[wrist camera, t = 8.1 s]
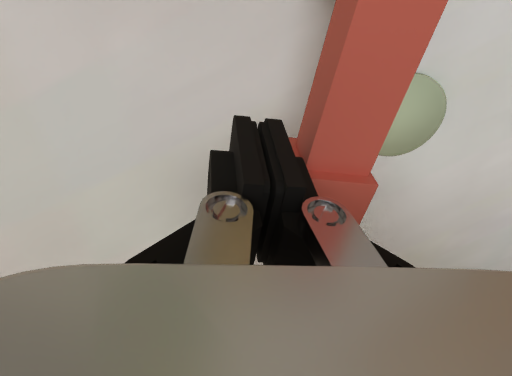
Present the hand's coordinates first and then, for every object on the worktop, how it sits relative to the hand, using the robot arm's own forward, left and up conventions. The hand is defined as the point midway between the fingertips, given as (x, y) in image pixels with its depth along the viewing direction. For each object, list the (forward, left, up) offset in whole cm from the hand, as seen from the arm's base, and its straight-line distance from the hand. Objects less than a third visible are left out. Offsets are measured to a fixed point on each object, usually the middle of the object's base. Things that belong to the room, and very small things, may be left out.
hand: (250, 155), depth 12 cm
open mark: (-9, +7, -9) cm, 14 cm away
